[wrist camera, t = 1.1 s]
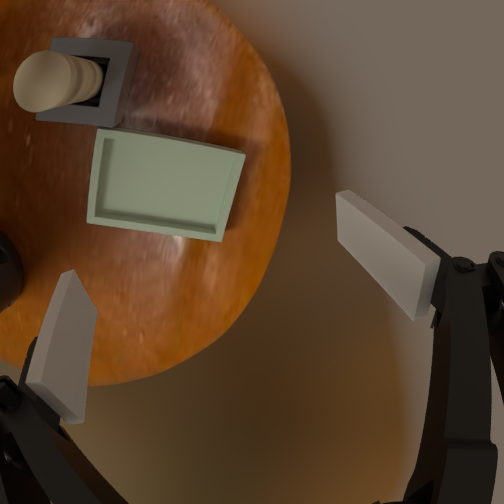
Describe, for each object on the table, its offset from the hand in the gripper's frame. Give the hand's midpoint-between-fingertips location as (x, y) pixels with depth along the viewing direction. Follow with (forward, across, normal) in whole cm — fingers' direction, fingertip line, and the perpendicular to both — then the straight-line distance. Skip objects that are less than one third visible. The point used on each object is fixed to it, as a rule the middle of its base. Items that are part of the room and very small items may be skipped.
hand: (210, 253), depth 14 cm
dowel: (+26, -8, +11) cm, 29 cm away
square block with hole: (+27, -8, +11) cm, 30 cm away
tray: (+27, -4, -4) cm, 27 cm away
